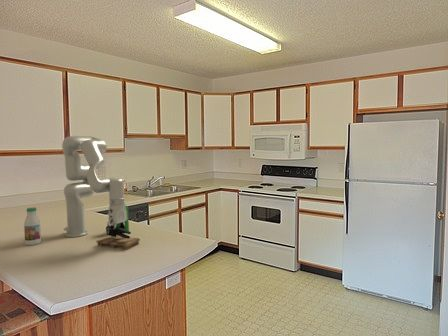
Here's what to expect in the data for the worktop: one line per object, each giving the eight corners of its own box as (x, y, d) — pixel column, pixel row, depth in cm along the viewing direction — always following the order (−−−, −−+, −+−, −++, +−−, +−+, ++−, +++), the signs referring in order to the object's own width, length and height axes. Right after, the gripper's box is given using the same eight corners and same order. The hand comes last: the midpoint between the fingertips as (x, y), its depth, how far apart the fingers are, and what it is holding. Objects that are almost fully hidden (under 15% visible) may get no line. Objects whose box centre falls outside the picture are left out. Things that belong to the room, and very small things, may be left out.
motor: (124, 229, 211) (123, 198, 209) (132, 231, 205) (131, 199, 204) (109, 232, 203) (108, 200, 201) (117, 234, 197) (116, 202, 196)
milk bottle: (26, 242, 184) (24, 207, 182) (42, 240, 186) (40, 206, 185) (23, 246, 176) (21, 209, 175) (39, 244, 179) (38, 208, 178)
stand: (96, 245, 176) (96, 240, 175) (110, 240, 186) (110, 235, 186) (127, 249, 169) (127, 244, 168) (140, 243, 179) (139, 238, 179)
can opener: (102, 235, 178) (102, 225, 177) (113, 232, 183) (112, 223, 183) (124, 240, 168) (124, 229, 168) (135, 237, 174) (134, 227, 174)
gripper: (111, 205, 166) (113, 239, 167) (132, 199, 182) (133, 231, 184) (100, 204, 169) (101, 238, 170) (121, 199, 185) (122, 230, 186)
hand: (118, 234), depth 177 cm, fingers closed on can opener, 6 cm apart
